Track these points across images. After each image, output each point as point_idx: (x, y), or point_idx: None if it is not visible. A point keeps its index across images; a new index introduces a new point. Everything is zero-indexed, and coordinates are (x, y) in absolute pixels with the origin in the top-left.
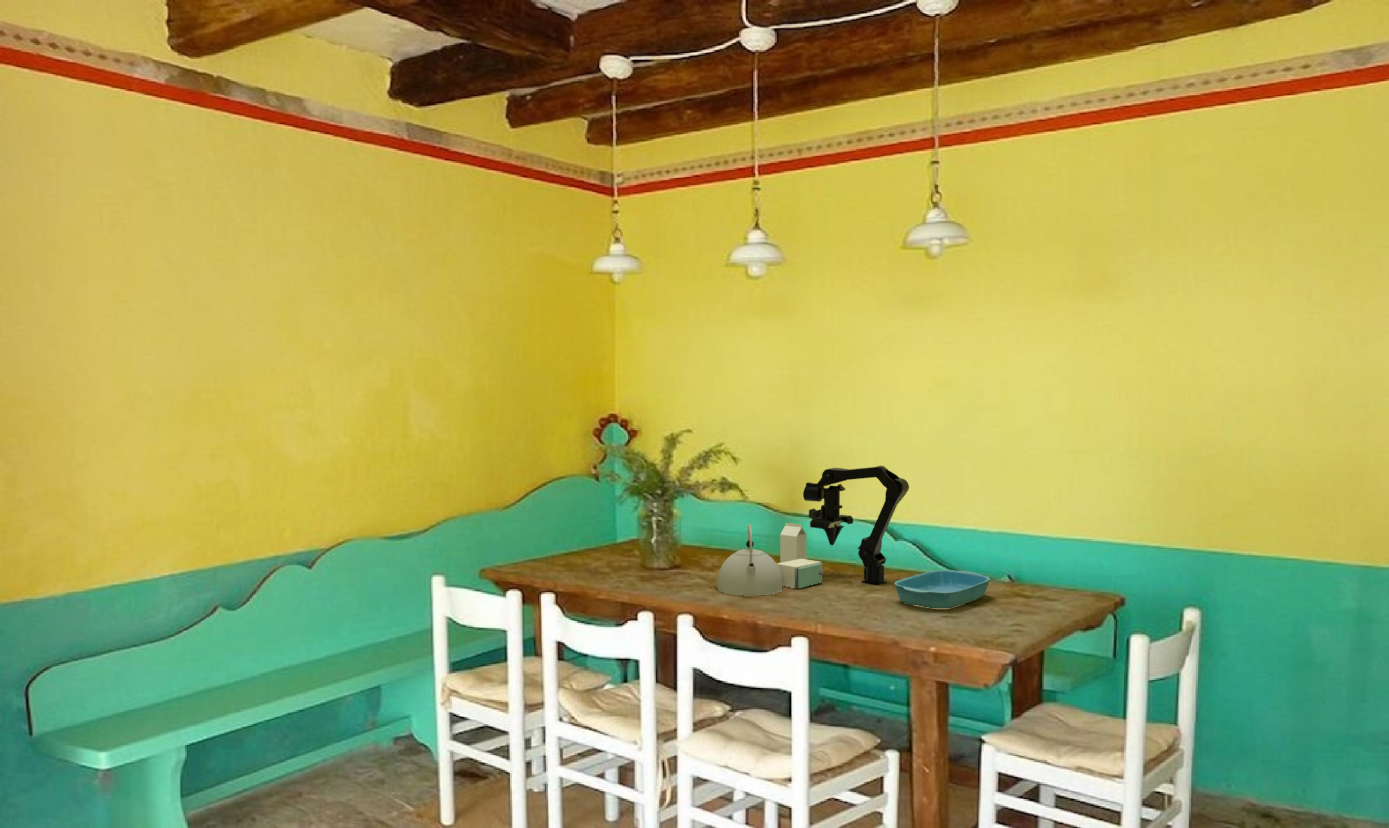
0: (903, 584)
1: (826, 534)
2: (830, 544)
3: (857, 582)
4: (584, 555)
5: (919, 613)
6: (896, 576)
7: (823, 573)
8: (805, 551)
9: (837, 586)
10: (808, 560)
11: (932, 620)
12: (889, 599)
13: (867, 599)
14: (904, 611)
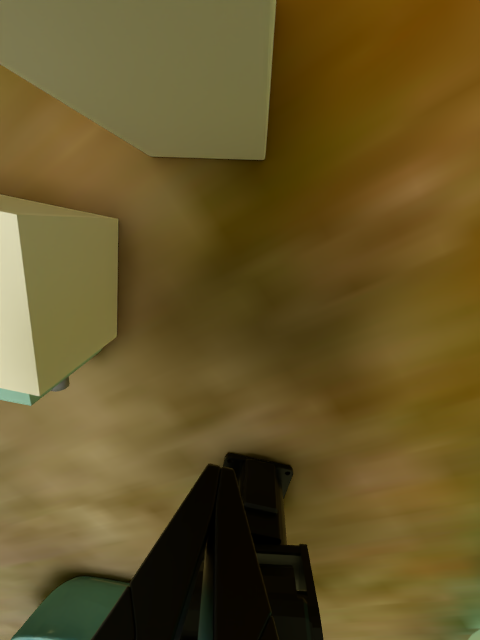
0: (82, 627)
1: (93, 637)
2: (203, 474)
3: (221, 439)
4: None
5: (26, 605)
6: (399, 507)
7: (62, 386)
8: (241, 92)
9: (112, 408)
10: (2, 307)
11: (4, 622)
12: (82, 552)
13: (38, 518)
14: (15, 587)
